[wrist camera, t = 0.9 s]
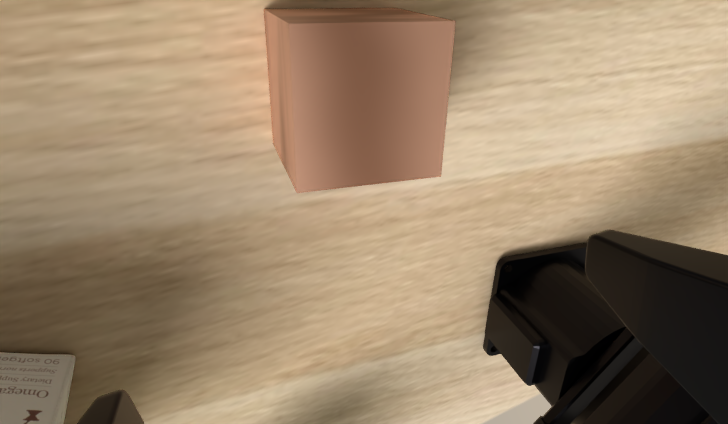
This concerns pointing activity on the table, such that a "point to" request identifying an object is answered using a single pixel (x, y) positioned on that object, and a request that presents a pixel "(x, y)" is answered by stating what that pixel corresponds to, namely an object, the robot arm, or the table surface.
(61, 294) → the table surface
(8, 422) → the supplement box
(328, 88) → the terracotta cube
